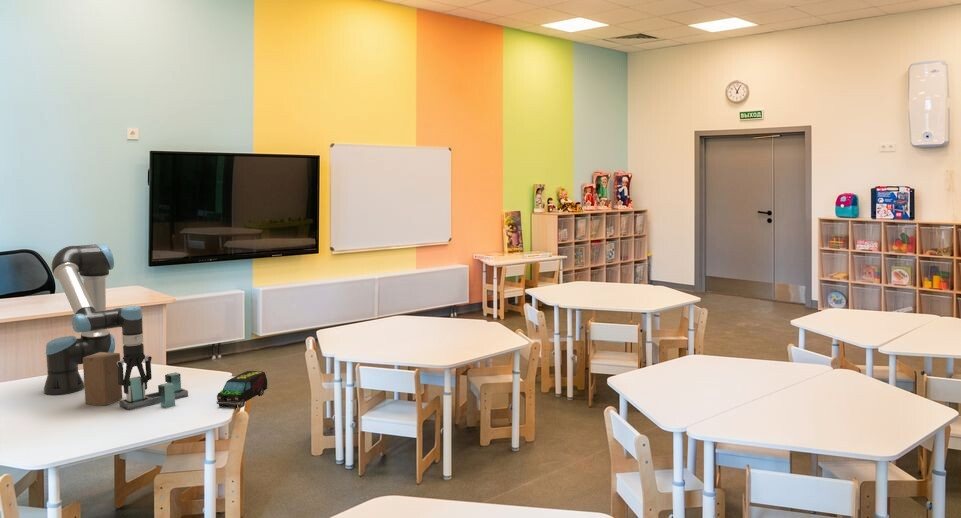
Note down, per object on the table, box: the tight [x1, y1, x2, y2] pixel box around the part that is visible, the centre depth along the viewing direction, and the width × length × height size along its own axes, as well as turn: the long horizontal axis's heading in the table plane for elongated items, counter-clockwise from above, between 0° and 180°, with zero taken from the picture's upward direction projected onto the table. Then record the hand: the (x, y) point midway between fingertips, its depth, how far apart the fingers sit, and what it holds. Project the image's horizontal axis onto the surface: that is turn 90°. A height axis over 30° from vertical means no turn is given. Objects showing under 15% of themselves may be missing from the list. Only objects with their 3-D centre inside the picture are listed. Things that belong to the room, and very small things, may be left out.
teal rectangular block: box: [129, 376, 143, 402], centre depth 283 cm, size 4×5×9 cm
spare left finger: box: [157, 382, 176, 409], centre depth 283 cm, size 4×5×9 cm
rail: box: [119, 372, 189, 411], centre depth 289 cm, size 8×25×10 cm, turn 140°
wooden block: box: [82, 352, 123, 406], centre depth 288 cm, size 10×10×20 cm
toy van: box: [216, 370, 269, 409], centre depth 291 cm, size 11×25×10 cm, turn 169°
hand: (136, 399), depth 283 cm, fingers closed on teal rectangular block, 5 cm apart
